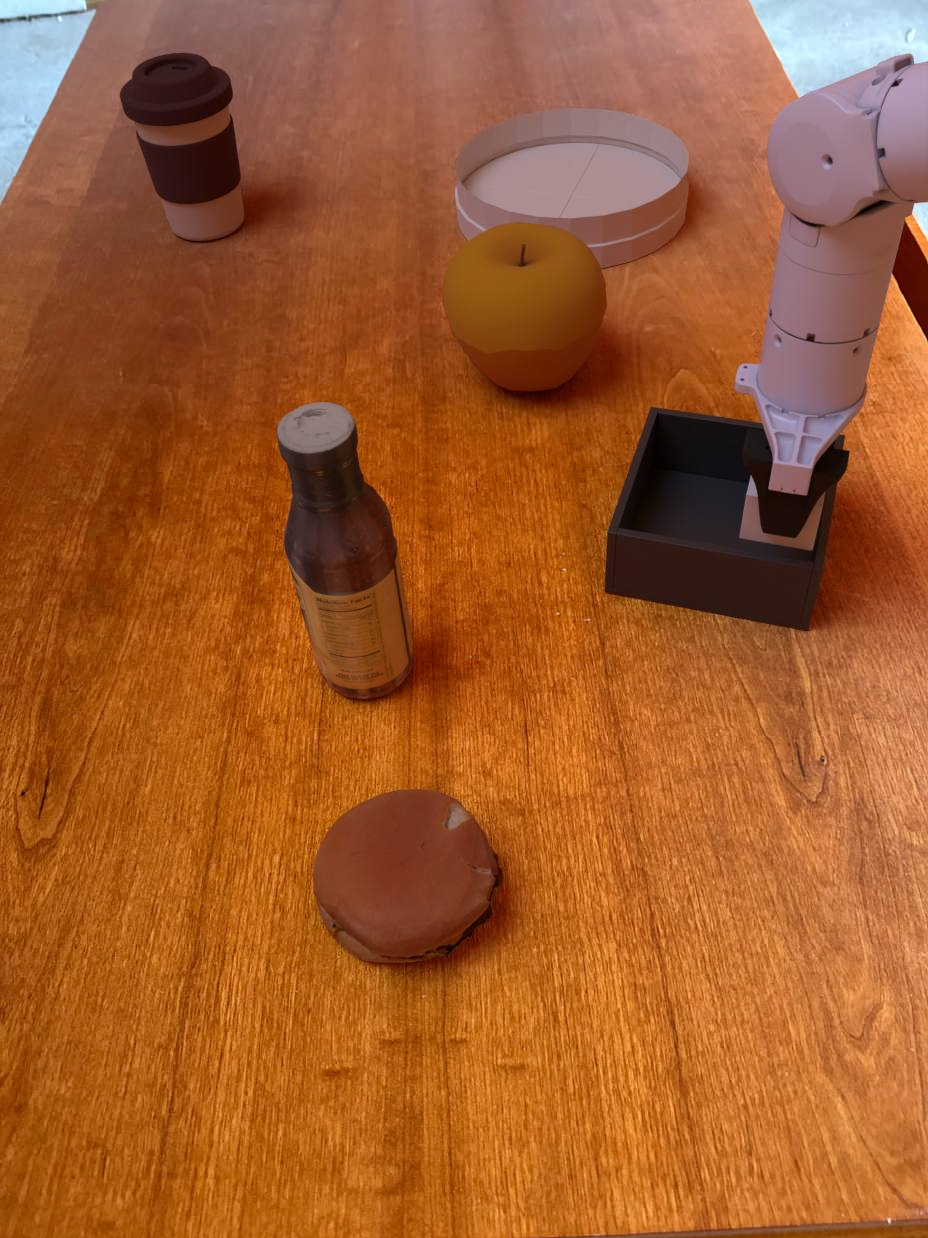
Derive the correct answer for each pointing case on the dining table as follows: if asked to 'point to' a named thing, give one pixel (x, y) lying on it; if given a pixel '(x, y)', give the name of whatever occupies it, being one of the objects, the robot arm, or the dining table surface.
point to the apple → (525, 304)
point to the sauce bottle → (343, 556)
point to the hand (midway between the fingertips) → (785, 506)
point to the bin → (706, 527)
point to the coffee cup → (188, 142)
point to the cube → (754, 532)
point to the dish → (577, 179)
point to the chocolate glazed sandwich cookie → (405, 877)
